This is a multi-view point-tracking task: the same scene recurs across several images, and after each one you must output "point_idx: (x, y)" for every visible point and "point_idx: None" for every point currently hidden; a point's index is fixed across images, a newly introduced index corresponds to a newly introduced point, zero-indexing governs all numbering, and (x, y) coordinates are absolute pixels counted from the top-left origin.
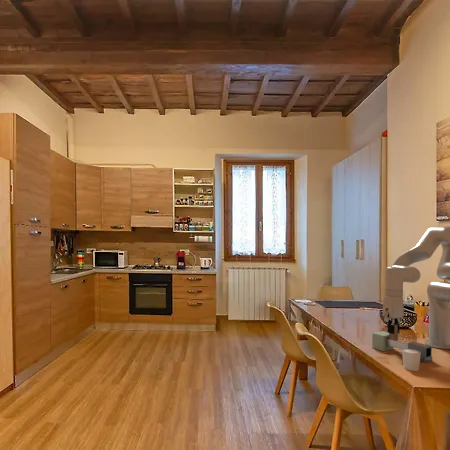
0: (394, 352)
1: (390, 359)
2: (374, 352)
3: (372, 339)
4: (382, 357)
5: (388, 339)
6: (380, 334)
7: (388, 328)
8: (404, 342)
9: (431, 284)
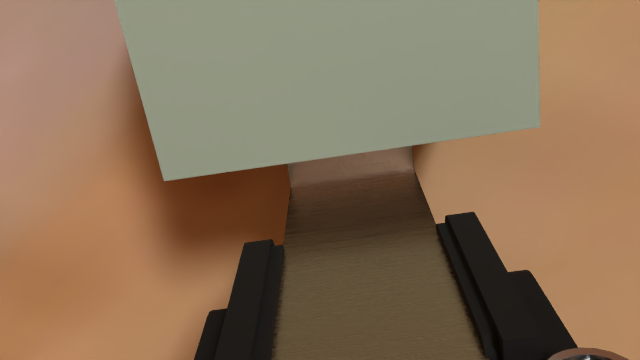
0: None
1: (72, 349)
2: (53, 96)
3: None
4: (25, 276)
5: (289, 172)
6: (193, 55)
7: (200, 349)
8: None
9: None
